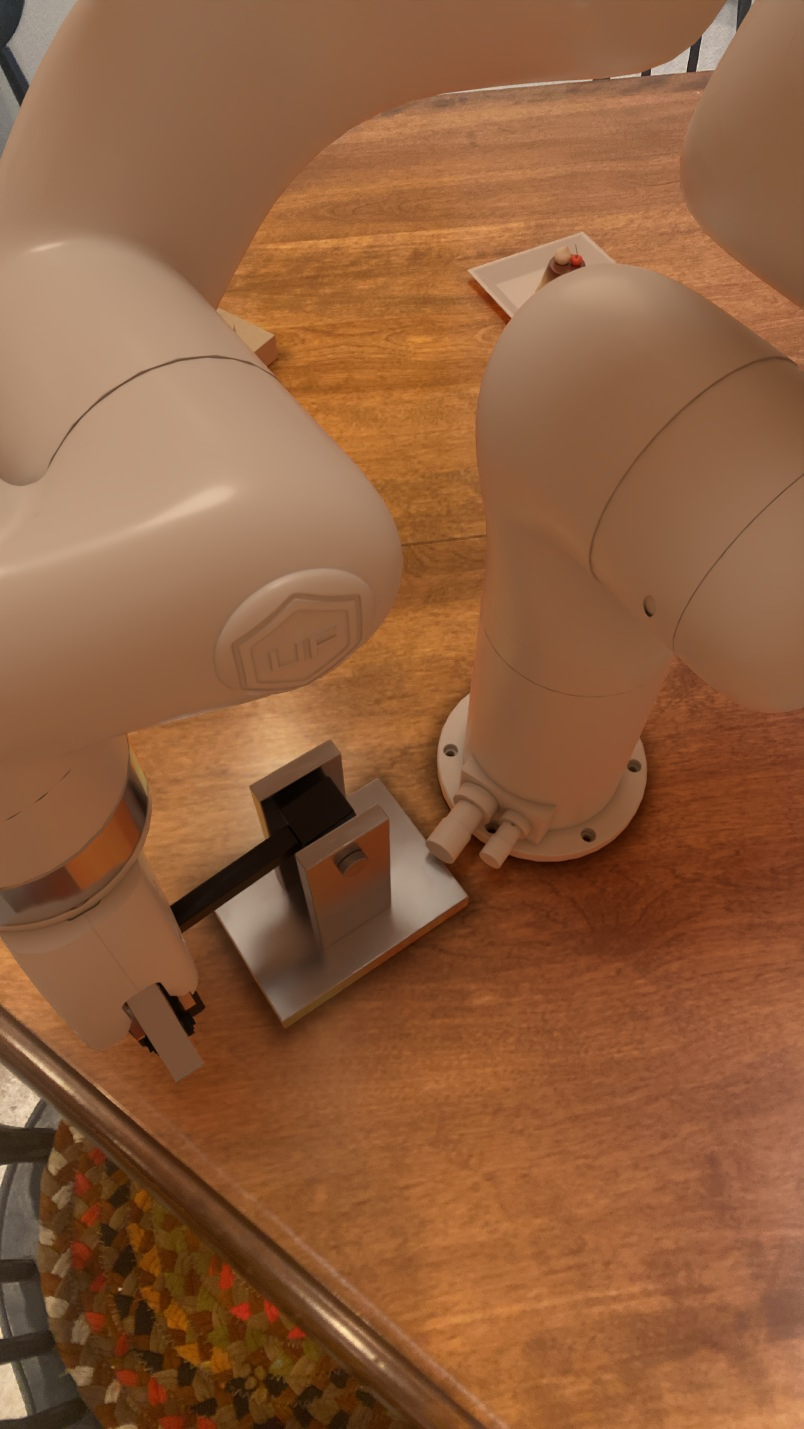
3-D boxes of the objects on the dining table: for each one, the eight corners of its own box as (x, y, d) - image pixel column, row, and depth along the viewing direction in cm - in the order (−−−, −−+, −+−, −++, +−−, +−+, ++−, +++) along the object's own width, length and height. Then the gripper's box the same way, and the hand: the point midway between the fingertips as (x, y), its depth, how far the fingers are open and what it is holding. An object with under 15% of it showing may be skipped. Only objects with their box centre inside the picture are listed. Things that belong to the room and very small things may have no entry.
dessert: (660, 317, 80) (674, 265, 76) (540, 362, 77) (547, 310, 73) (580, 242, 85) (590, 189, 81) (466, 281, 83) (469, 228, 78)
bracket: (284, 1029, 50) (252, 958, 39) (203, 895, 54) (152, 795, 43) (467, 905, 53) (485, 808, 42) (379, 787, 57) (374, 670, 46)
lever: (158, 1007, 42) (138, 998, 40) (109, 918, 45) (88, 905, 42) (379, 850, 44) (371, 833, 42) (322, 772, 46) (312, 752, 44)
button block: (195, 427, 73) (185, 385, 70) (120, 386, 76) (107, 343, 72) (278, 357, 77) (272, 314, 74) (204, 320, 80) (195, 277, 76)
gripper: (-185, 668, 32) (-1, 873, 48) (14, 1115, 25) (154, 1185, 40) (25, 573, 34) (136, 798, 50) (263, 956, 27) (305, 1080, 43)
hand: (143, 970), depth 45 cm, fingers closed on lever, 5 cm apart
